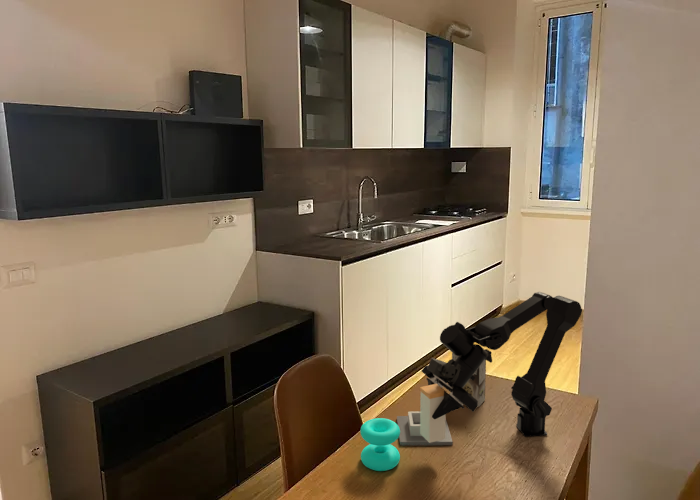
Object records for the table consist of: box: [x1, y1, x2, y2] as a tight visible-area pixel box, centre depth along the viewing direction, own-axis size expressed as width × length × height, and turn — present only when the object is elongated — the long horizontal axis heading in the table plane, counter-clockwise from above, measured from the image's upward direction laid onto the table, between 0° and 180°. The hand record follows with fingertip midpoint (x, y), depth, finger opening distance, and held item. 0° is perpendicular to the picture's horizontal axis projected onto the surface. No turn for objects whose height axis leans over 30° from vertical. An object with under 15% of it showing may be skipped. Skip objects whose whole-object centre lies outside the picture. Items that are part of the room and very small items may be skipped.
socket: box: [396, 411, 454, 446], centre depth 152 cm, size 14×14×4 cm
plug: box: [419, 384, 448, 443], centre depth 138 cm, size 5×5×13 cm
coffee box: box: [451, 352, 487, 408], centre depth 169 cm, size 9×6×16 cm
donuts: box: [359, 417, 401, 472], centre depth 138 cm, size 10×10×10 cm
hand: (428, 413), depth 137 cm, fingers closed on plug, 5 cm apart
